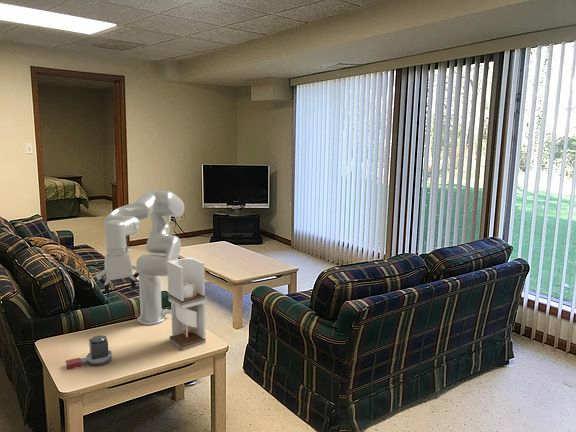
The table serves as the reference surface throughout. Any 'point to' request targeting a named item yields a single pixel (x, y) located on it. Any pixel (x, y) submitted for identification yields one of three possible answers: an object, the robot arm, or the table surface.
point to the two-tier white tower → (187, 302)
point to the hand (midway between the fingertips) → (120, 290)
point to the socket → (98, 347)
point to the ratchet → (88, 361)
